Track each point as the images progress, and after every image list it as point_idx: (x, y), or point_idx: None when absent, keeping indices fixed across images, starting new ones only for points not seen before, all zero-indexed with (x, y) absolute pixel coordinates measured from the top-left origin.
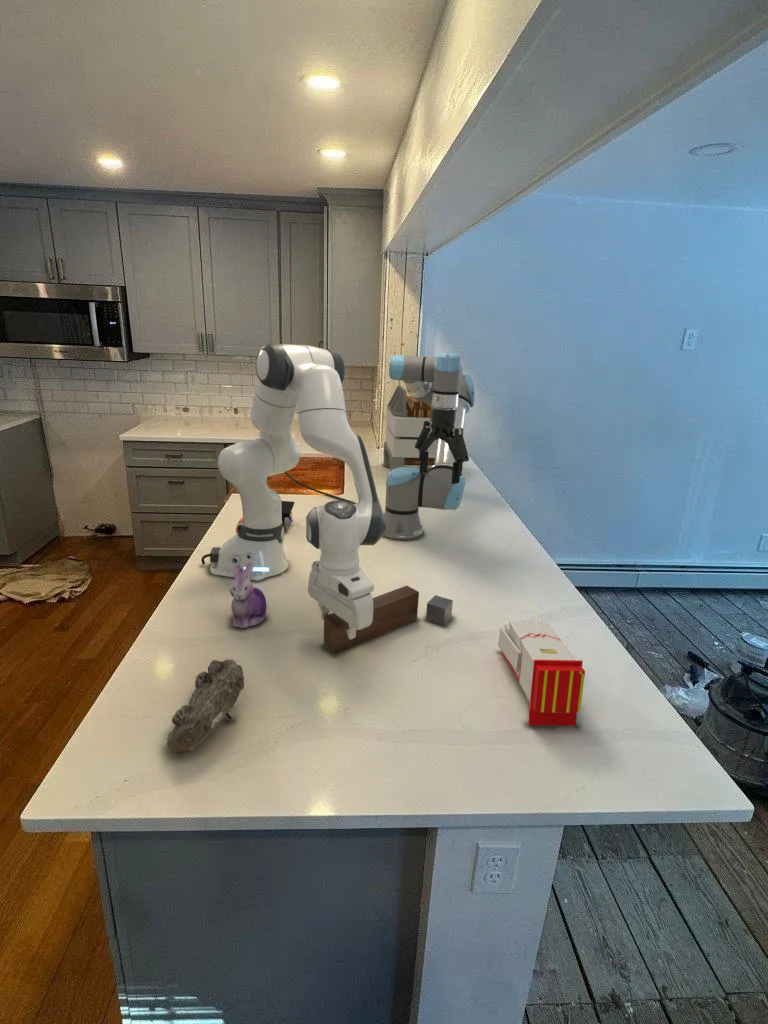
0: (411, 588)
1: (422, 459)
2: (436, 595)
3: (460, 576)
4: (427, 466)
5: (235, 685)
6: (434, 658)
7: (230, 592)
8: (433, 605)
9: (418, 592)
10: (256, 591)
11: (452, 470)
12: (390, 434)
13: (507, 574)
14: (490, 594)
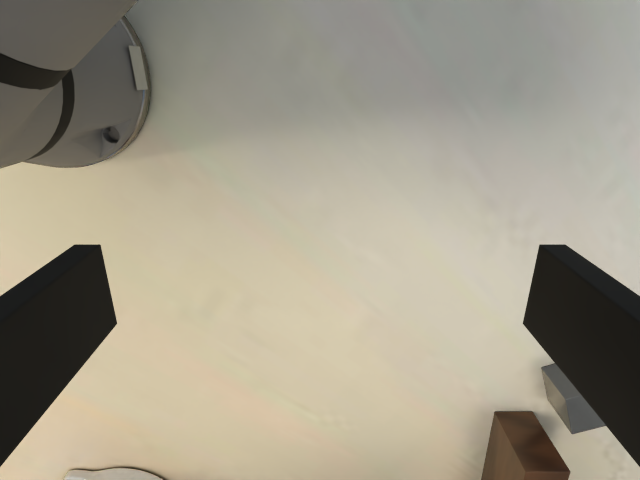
0: (544, 473)
1: (21, 428)
2: (569, 398)
3: (477, 176)
4: (64, 273)
5: None
6: (636, 464)
7: None
8: (588, 428)
9: (569, 472)
10: None
11: (604, 422)
12: None
13: (592, 20)
14: (610, 193)
